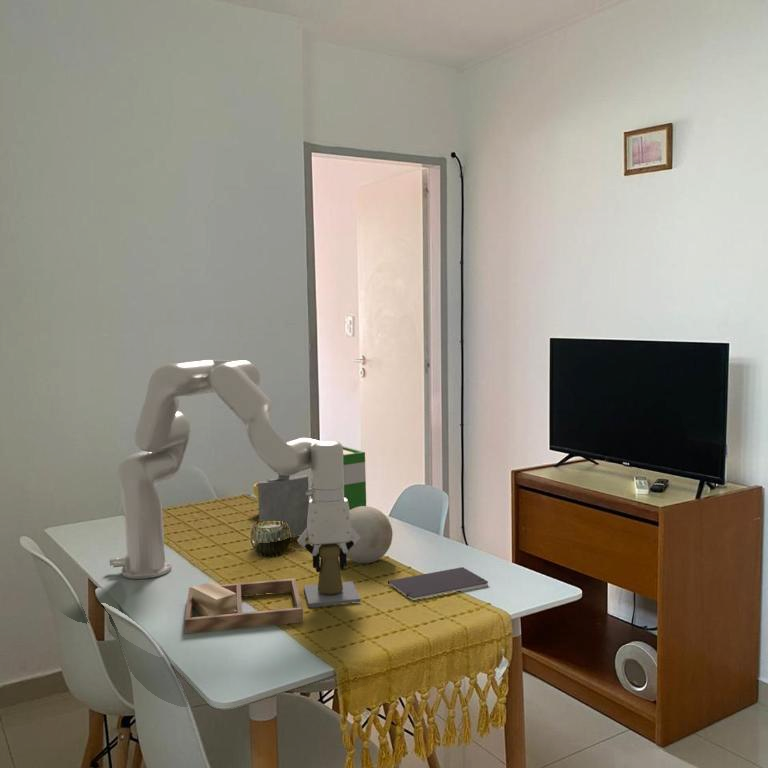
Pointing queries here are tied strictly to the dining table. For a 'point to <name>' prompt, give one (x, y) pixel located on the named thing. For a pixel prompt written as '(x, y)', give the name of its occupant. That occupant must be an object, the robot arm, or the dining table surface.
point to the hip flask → (285, 501)
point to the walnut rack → (248, 617)
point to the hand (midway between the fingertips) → (329, 568)
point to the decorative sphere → (369, 534)
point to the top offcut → (214, 597)
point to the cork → (329, 569)
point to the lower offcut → (208, 612)
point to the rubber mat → (331, 595)
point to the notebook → (438, 583)
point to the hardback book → (354, 477)
